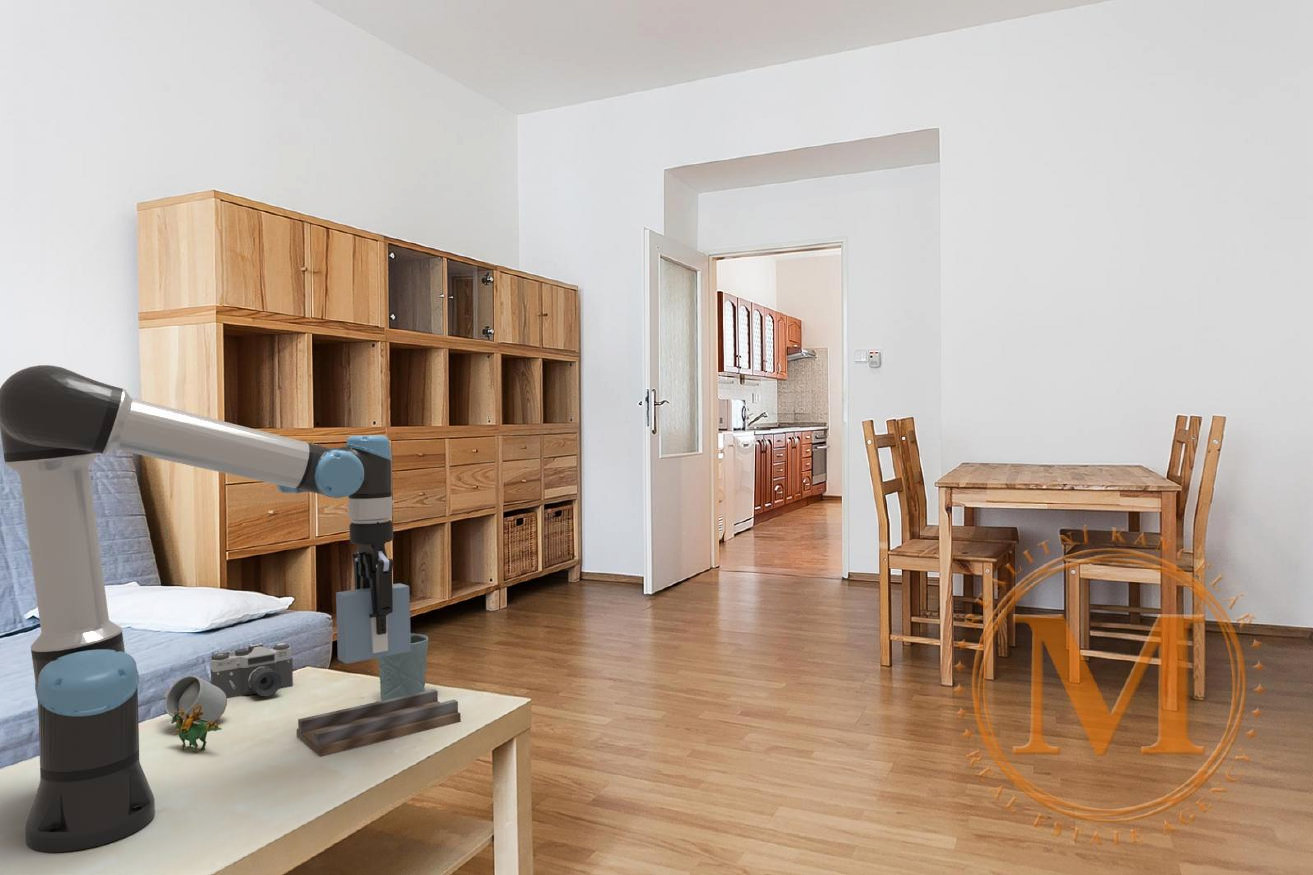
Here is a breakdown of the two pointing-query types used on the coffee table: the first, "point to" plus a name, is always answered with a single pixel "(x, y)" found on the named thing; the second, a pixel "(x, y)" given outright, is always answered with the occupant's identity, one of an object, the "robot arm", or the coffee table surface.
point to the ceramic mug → (195, 698)
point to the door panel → (358, 624)
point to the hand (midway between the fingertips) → (374, 648)
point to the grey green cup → (404, 670)
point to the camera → (253, 670)
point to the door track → (376, 722)
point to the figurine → (193, 728)
